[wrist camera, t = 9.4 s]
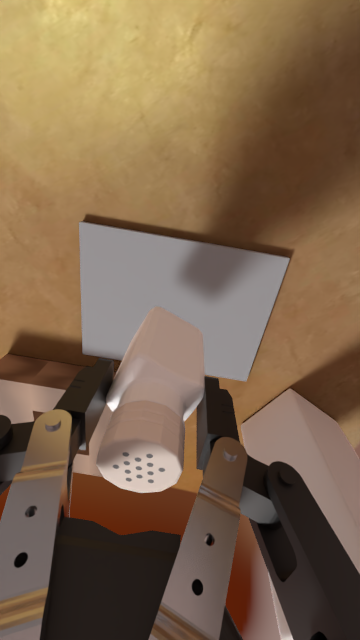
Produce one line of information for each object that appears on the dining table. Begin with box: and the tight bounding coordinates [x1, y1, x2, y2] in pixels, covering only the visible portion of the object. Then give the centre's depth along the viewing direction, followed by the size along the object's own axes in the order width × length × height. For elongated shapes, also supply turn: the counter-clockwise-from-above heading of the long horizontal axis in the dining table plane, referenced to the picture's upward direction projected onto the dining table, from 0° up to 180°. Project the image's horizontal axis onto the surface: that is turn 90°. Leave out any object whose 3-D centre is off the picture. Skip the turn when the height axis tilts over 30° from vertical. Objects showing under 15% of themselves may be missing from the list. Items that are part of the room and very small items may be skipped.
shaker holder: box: [0, 354, 117, 477], centre depth 26 cm, size 14×12×4 cm
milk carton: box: [241, 389, 360, 640], centre depth 18 cm, size 7×7×19 cm
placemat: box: [79, 221, 290, 381], centre depth 21 cm, size 16×12×1 cm
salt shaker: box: [96, 306, 205, 493], centre depth 13 cm, size 4×4×10 cm
